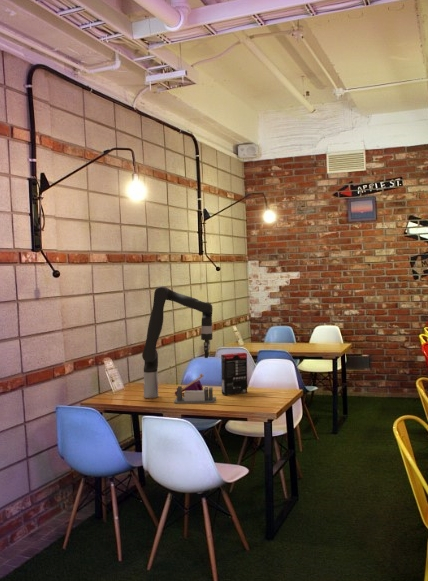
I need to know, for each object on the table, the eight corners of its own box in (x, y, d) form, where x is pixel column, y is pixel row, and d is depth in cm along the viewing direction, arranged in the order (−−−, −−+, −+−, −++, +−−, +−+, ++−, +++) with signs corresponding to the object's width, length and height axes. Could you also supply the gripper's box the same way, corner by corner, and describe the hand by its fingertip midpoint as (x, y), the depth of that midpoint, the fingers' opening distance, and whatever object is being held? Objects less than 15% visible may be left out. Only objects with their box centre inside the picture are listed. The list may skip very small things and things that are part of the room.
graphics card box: (243, 391, 395) (242, 351, 394) (248, 393, 389) (247, 353, 388) (221, 394, 388) (220, 354, 387) (226, 396, 382) (224, 355, 381)
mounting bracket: (177, 404, 388) (199, 394, 382) (172, 393, 389) (194, 382, 383) (183, 401, 397) (204, 391, 391) (178, 390, 398) (199, 380, 392)
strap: (178, 393, 369) (177, 390, 369) (179, 391, 373) (177, 389, 373) (203, 376, 368) (201, 374, 368) (203, 376, 371) (202, 373, 371)
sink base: (173, 403, 365) (173, 389, 364) (176, 399, 378) (176, 385, 377) (214, 403, 363) (214, 388, 363) (215, 398, 376) (215, 384, 376)
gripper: (201, 331, 388) (201, 355, 389) (200, 333, 374) (200, 358, 374) (213, 331, 388) (213, 355, 388) (211, 333, 373) (211, 358, 374)
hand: (206, 356), depth 381 cm, fingers open, 8 cm apart
